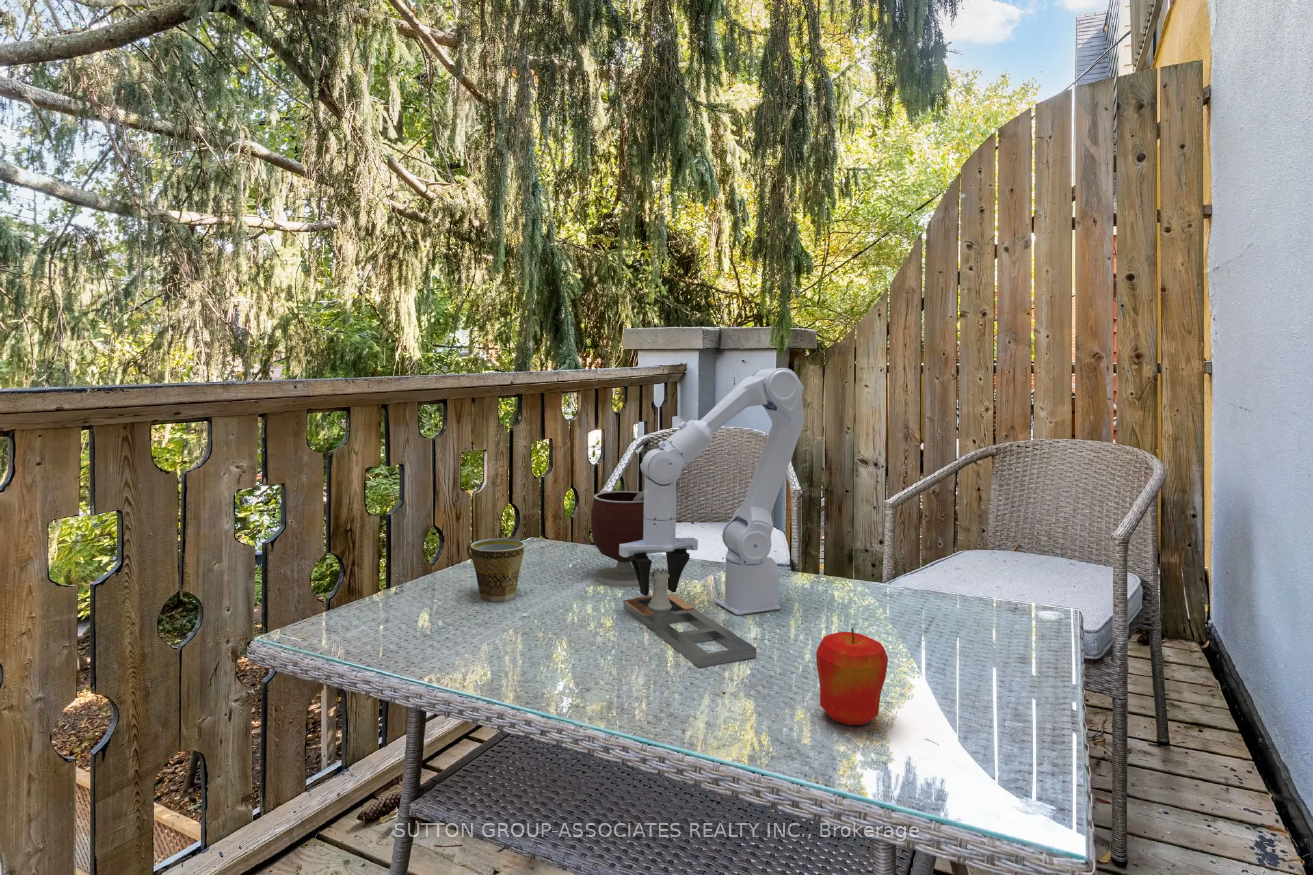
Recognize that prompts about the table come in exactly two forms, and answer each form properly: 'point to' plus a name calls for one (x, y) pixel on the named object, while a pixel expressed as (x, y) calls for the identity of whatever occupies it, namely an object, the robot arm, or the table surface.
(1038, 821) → the table surface
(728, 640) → the hole rail
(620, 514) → the mate gourd
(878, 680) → the apple
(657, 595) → the rook chess piece
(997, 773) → the table surface
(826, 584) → the table surface
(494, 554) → the ceramic cup
